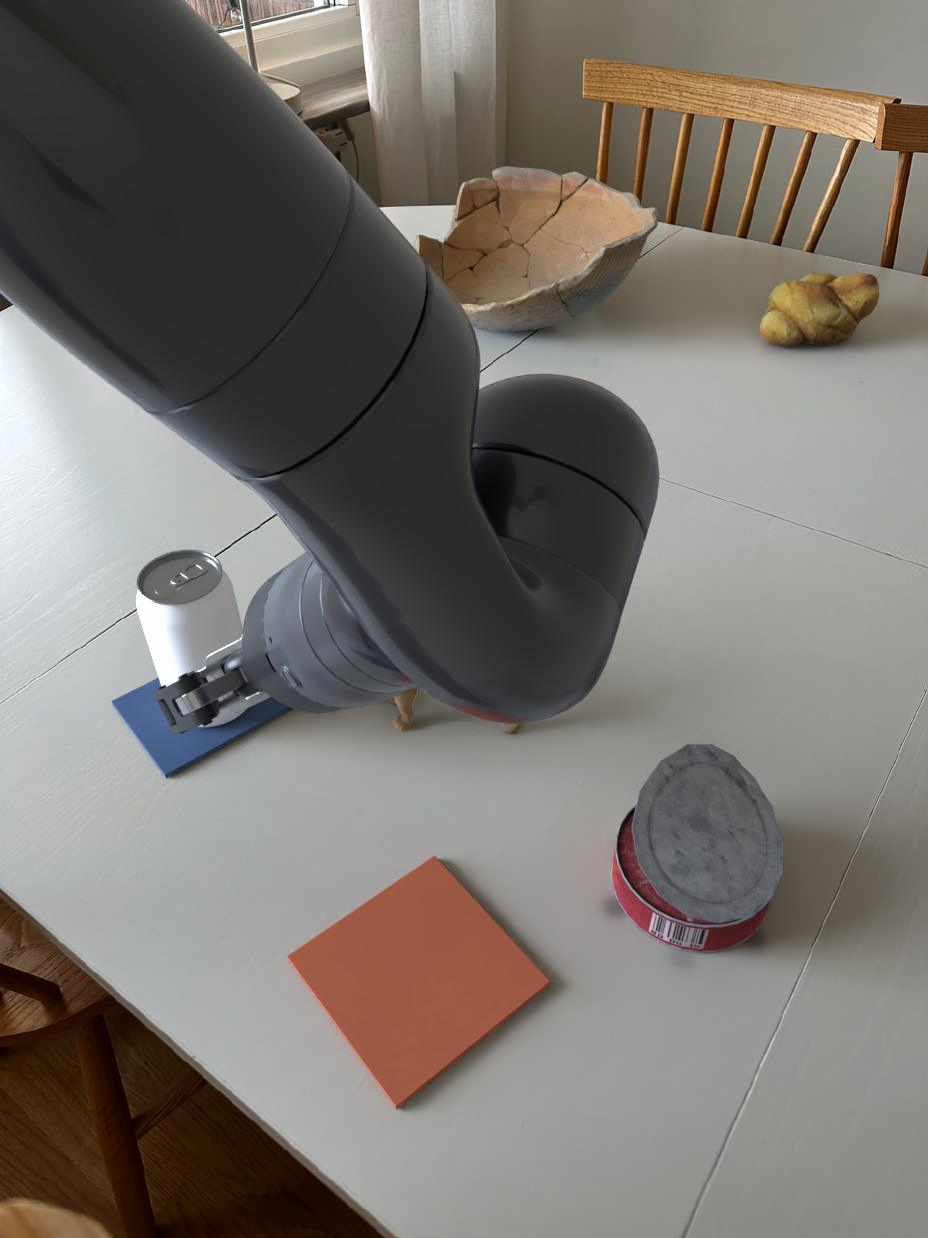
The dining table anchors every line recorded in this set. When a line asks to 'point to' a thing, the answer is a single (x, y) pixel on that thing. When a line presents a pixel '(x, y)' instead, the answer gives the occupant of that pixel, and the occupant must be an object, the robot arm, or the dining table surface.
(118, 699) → the blue mat
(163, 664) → the can
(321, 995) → the terracotta mat
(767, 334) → the bread roll
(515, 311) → the ceramic bowl
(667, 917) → the canned food
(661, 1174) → the dining table surface
